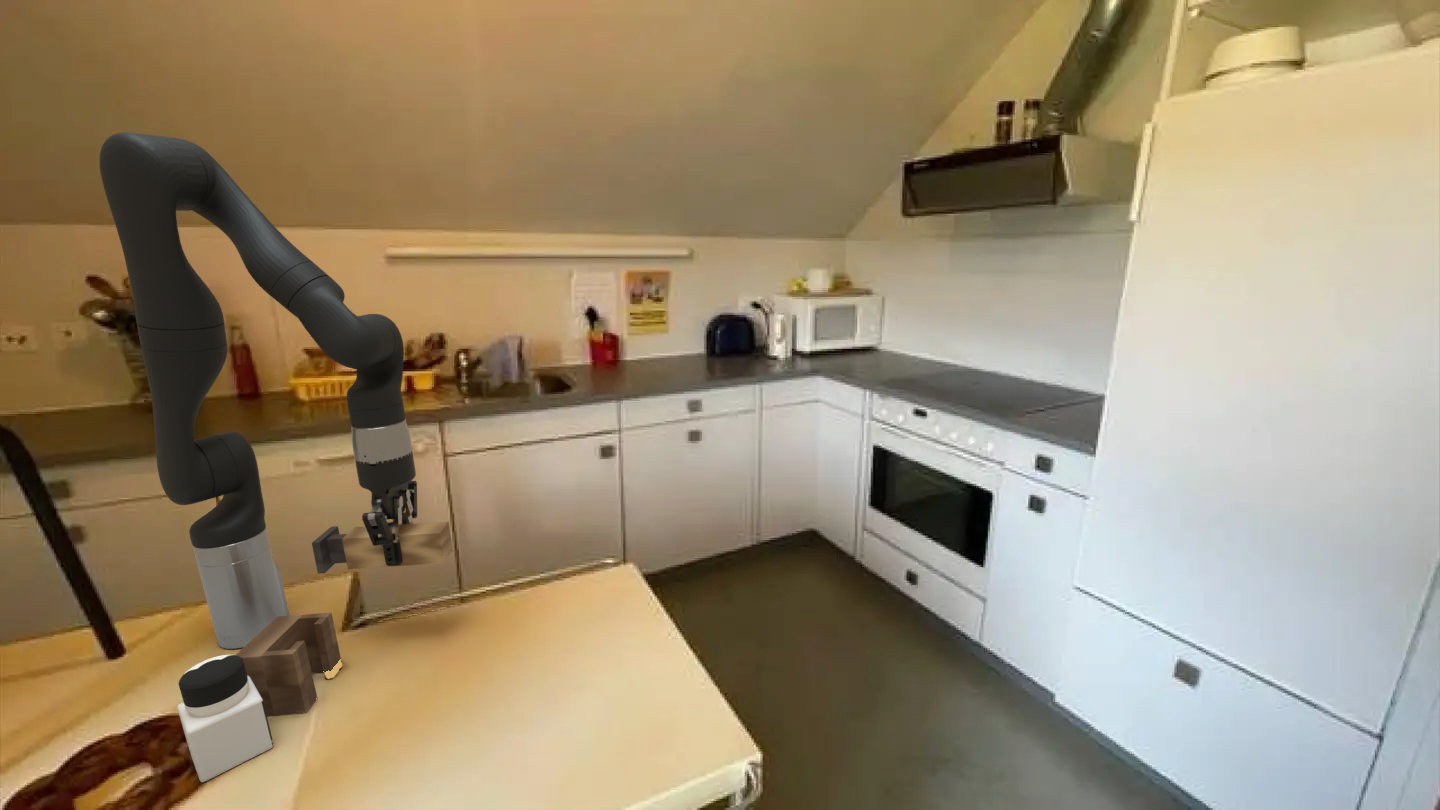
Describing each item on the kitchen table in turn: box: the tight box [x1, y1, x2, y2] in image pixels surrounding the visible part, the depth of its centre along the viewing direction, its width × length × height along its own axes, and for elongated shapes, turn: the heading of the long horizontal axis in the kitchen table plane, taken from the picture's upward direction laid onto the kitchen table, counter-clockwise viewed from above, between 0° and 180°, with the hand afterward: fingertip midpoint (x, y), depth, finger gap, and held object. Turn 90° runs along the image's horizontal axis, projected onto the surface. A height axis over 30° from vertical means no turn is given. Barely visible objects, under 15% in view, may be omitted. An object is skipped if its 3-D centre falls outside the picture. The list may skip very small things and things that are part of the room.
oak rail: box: [311, 521, 454, 574], centre depth 93 cm, size 18×6×5 cm, turn 95°
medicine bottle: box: [177, 654, 274, 783], centre depth 74 cm, size 7×7×12 cm
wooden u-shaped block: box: [235, 612, 342, 717], centre depth 84 cm, size 8×10×9 cm
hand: (400, 556), depth 94 cm, fingers closed on oak rail, 4 cm apart
